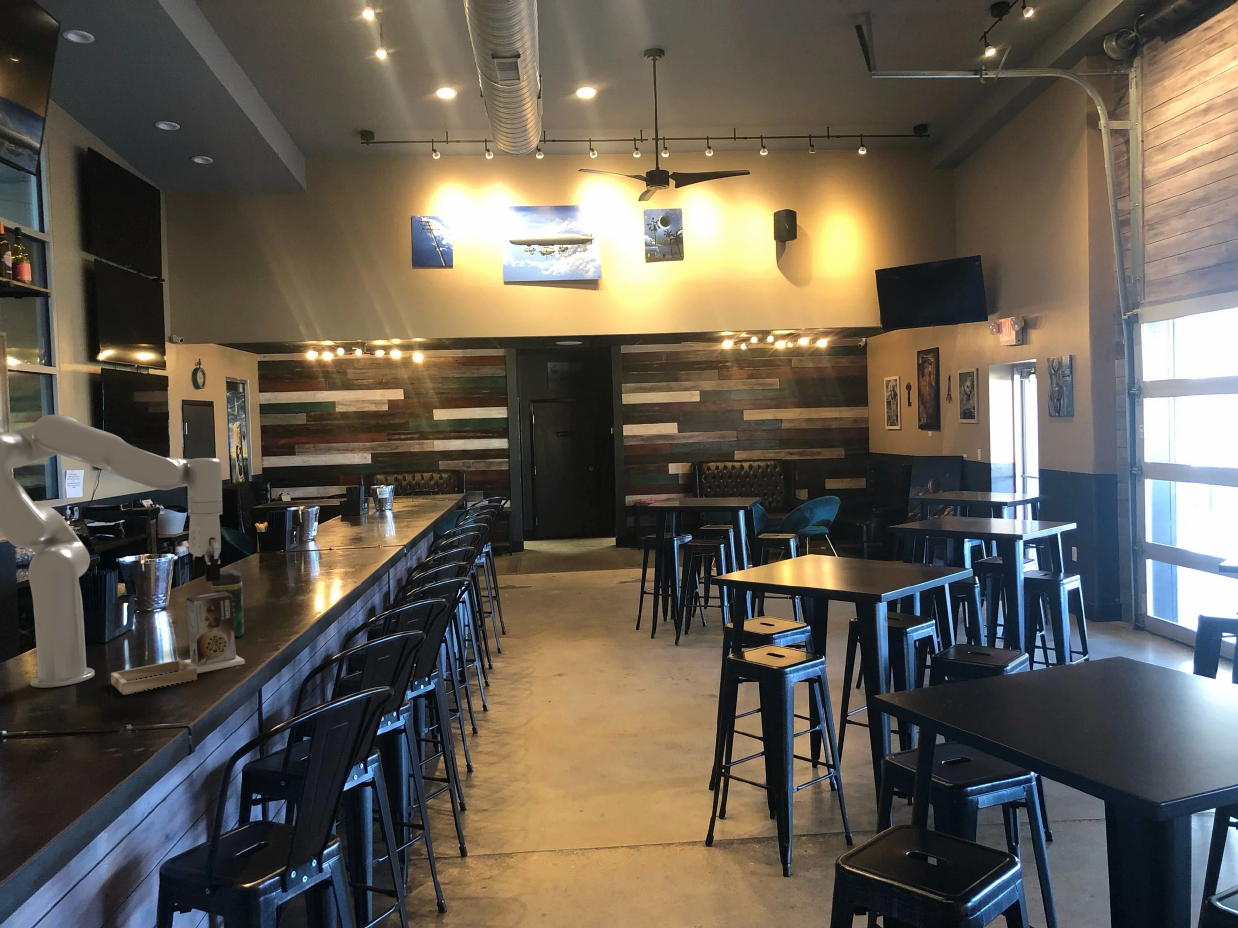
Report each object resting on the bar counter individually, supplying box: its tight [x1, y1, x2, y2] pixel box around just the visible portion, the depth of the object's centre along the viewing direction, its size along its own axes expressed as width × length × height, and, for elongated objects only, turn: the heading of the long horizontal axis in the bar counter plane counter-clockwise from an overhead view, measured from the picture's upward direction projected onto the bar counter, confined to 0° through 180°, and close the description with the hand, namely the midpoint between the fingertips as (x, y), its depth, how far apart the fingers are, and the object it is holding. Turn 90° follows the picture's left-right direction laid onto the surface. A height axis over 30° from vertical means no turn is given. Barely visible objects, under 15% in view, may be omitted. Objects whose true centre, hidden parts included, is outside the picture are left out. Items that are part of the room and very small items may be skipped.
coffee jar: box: [210, 568, 245, 638], centre depth 238 cm, size 10×8×19 cm
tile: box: [183, 654, 246, 674], centre depth 209 cm, size 11×11×1 cm
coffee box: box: [186, 592, 237, 666], centre depth 209 cm, size 9×6×16 cm
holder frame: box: [110, 658, 198, 696], centre depth 196 cm, size 12×15×2 cm
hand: (206, 578), depth 208 cm, fingers open, 9 cm apart
